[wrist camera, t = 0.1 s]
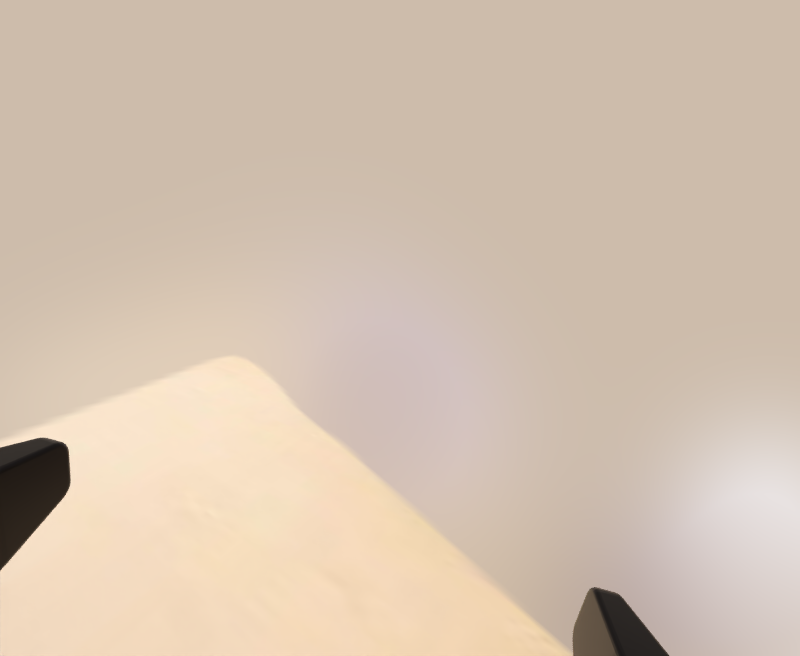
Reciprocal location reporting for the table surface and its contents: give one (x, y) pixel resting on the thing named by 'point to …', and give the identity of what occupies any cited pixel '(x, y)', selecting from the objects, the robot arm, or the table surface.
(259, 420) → the table surface
